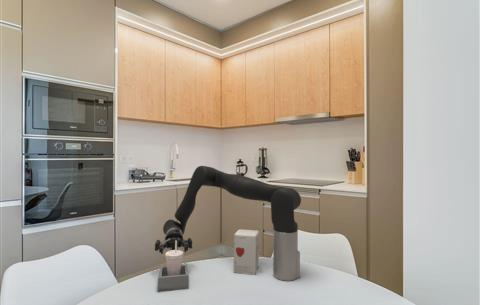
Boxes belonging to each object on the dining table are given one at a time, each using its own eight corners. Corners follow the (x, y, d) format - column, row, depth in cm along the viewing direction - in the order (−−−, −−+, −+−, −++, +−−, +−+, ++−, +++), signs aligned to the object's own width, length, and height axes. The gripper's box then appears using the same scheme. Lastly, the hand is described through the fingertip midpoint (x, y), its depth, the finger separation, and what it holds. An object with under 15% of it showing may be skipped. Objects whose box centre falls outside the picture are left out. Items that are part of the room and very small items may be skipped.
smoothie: (178, 285, 88) (179, 243, 89) (160, 283, 89) (161, 242, 90) (185, 277, 94) (186, 238, 95) (169, 275, 96) (170, 237, 96)
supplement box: (232, 273, 101) (233, 234, 102) (238, 264, 110) (238, 228, 111) (255, 275, 99) (256, 235, 100) (259, 266, 108) (259, 230, 109)
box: (187, 276, 98) (187, 264, 98) (188, 288, 88) (188, 275, 88) (159, 279, 95) (159, 266, 96) (157, 292, 86) (158, 278, 86)
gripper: (157, 230, 111) (154, 241, 95) (190, 228, 115) (193, 238, 99) (156, 247, 111) (153, 261, 95) (190, 245, 114) (192, 259, 99)
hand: (173, 250), depth 97 cm, fingers open, 8 cm apart
